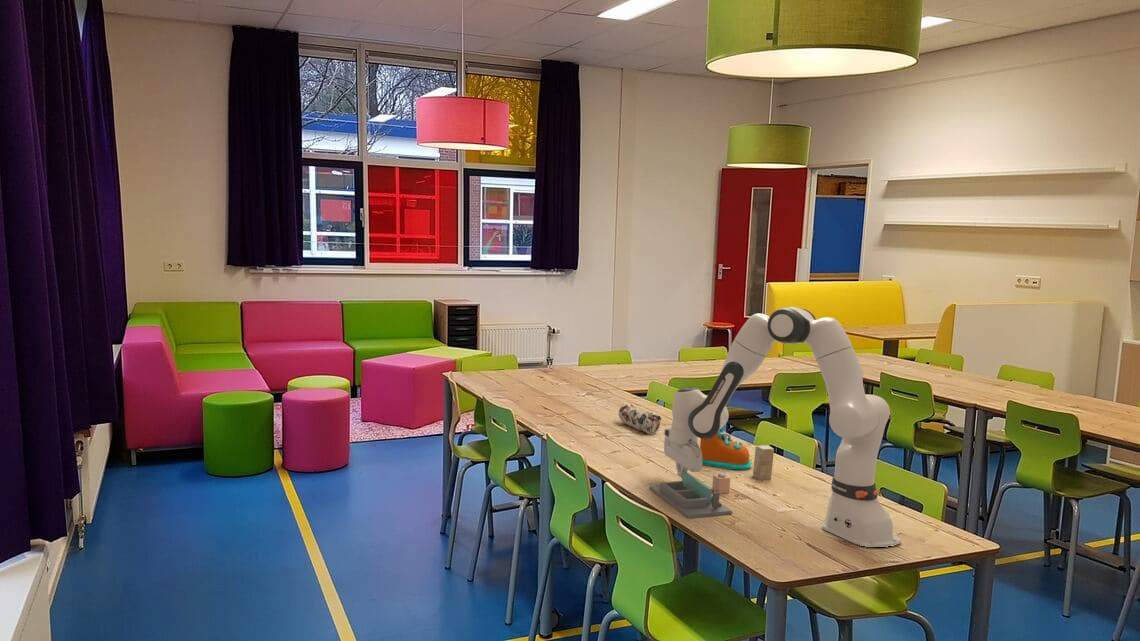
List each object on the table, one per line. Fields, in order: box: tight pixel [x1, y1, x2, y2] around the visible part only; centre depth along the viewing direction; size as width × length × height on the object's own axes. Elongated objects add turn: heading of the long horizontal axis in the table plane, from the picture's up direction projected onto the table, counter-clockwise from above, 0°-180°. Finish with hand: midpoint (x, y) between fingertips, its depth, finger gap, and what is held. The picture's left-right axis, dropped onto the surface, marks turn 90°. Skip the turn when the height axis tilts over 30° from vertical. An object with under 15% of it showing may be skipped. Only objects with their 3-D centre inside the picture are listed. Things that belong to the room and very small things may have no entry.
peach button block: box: [711, 472, 731, 494], centre depth 255 cm, size 4×4×6 cm
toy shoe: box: [699, 426, 752, 471], centre depth 285 cm, size 12×20×15 cm, turn 71°
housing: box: [649, 480, 733, 519], centre depth 245 cm, size 26×15×6 cm, turn 20°
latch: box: [681, 471, 713, 503], centre depth 248 cm, size 17×1×4 cm, turn 20°
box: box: [752, 445, 775, 480], centre depth 271 cm, size 5×4×11 cm
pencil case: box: [618, 401, 662, 436], centre depth 329 cm, size 22×8×10 cm, turn 30°
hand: (681, 476), depth 258 cm, fingers closed
